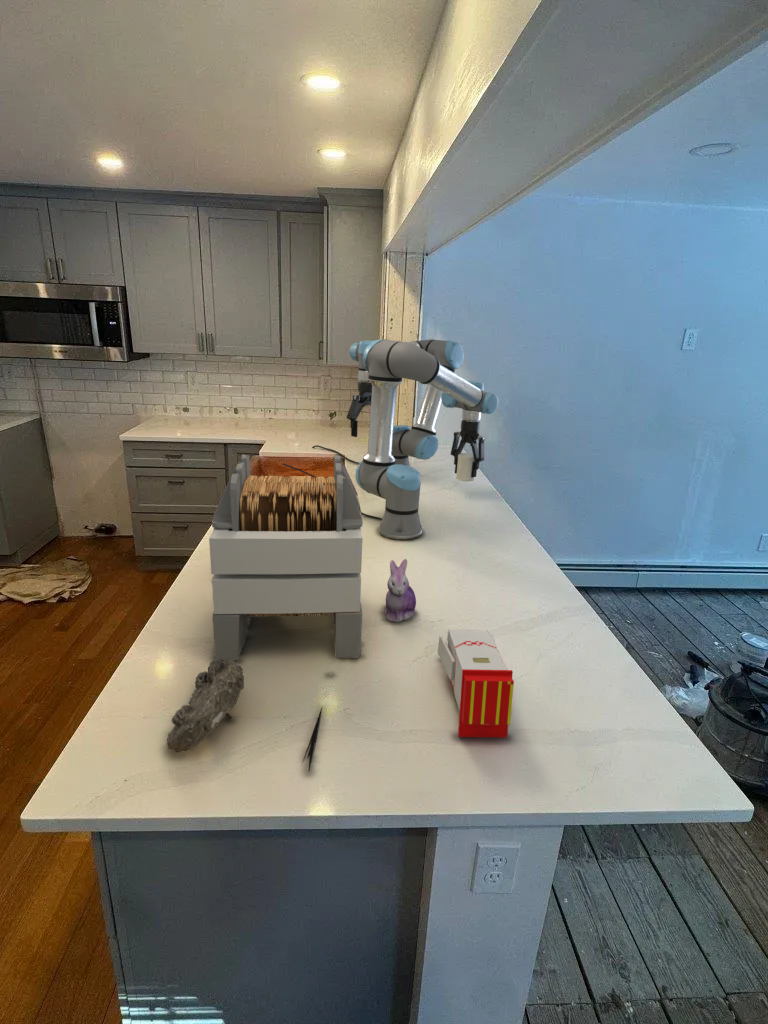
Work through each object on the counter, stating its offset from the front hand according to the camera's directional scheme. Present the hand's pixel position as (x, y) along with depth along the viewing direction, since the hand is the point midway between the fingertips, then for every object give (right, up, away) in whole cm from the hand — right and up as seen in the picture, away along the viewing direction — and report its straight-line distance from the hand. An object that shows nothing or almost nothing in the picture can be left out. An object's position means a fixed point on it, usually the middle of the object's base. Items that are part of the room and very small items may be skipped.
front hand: (465, 474), depth 237 cm
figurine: (-30, -42, -89) cm, 103 cm away
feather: (-46, -55, -128) cm, 147 cm away
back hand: (-41, +16, -5) cm, 45 cm away
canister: (0, -2, +1) cm, 2 cm away
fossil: (-67, -55, -129) cm, 155 cm away
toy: (-16, -53, -118) cm, 130 cm away
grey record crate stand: (-57, -43, -95) cm, 119 cm away
